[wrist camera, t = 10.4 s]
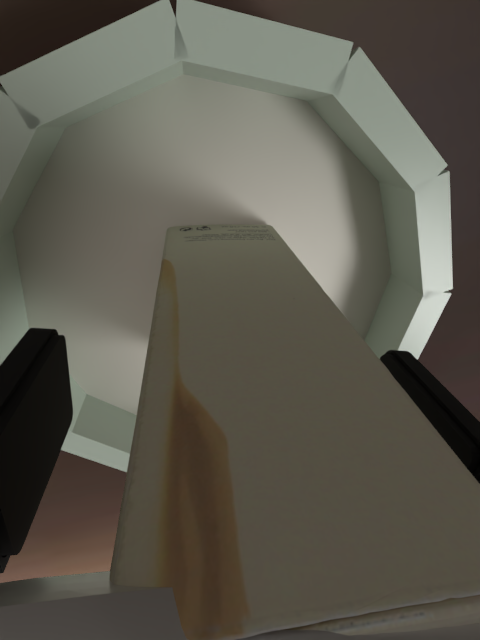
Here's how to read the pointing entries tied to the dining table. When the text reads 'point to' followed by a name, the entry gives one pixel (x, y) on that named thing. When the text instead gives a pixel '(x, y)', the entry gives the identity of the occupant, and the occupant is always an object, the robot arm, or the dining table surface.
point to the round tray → (206, 189)
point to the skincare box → (285, 460)
